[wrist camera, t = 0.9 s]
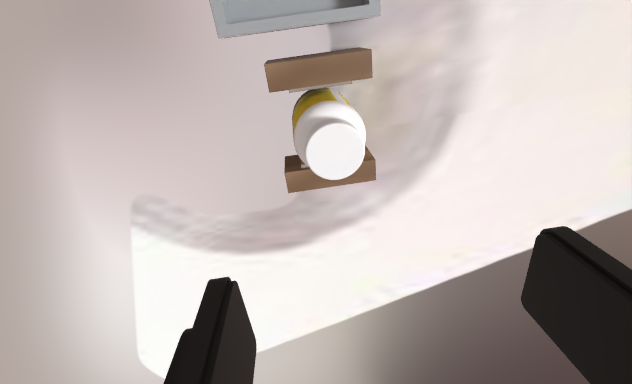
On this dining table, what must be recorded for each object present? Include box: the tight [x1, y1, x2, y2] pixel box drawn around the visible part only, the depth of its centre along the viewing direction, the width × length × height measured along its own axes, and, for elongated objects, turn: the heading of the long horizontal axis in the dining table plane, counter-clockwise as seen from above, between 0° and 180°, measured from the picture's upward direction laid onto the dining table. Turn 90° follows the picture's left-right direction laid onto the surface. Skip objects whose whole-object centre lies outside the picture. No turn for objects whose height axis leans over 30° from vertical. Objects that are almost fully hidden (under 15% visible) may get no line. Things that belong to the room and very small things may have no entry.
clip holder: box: [264, 48, 376, 193], centre depth 27 cm, size 11×8×4 cm
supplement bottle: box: [292, 87, 366, 180], centre depth 24 cm, size 5×5×10 cm
